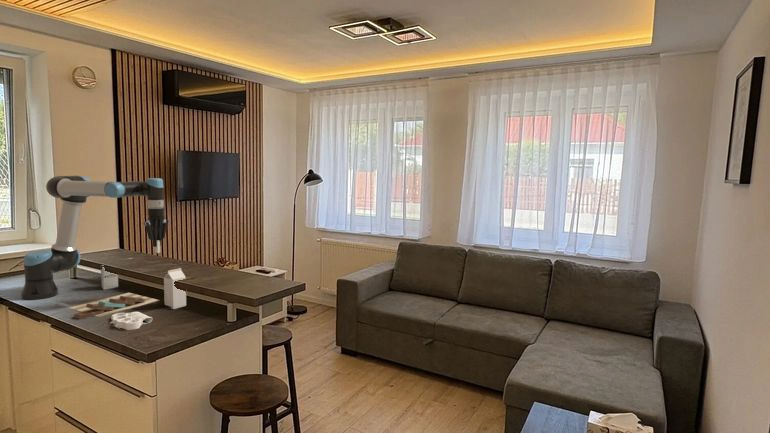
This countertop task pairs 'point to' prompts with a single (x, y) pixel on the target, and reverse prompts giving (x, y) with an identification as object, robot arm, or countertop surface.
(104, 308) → the domino
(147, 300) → the birch board
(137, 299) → the domino
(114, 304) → the domino
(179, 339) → the countertop surface
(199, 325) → the countertop surface
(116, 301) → the domino
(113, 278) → the supplement box
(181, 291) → the milk carton
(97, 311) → the domino
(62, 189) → the robot arm
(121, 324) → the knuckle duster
